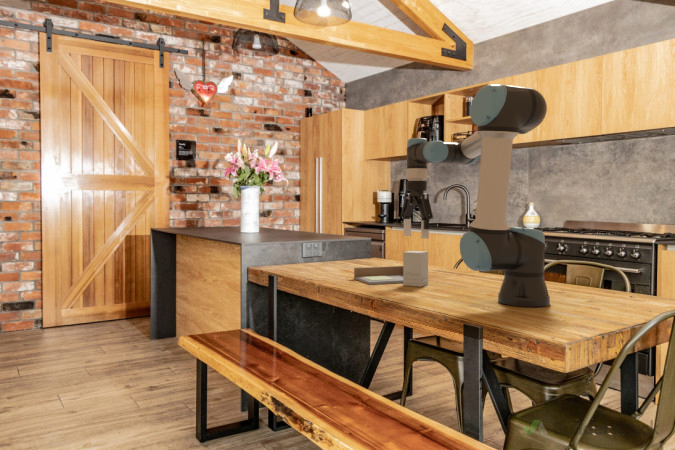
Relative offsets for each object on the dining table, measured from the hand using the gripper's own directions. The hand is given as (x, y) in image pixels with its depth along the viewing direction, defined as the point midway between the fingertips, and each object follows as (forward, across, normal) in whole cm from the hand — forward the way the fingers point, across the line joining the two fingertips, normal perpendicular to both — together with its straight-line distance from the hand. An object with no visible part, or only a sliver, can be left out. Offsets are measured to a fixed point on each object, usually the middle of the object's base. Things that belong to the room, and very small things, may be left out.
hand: (415, 237), depth 199 cm
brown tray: (+18, +14, +5) cm, 23 cm away
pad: (+18, +14, +9) cm, 24 cm away
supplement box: (+18, 0, 0) cm, 18 cm away
